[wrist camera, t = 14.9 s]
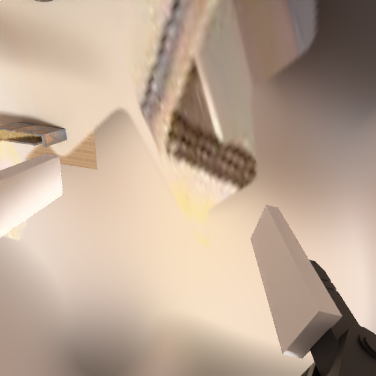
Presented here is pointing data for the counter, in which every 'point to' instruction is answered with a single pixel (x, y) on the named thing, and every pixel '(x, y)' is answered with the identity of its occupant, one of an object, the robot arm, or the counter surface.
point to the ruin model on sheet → (50, 143)
